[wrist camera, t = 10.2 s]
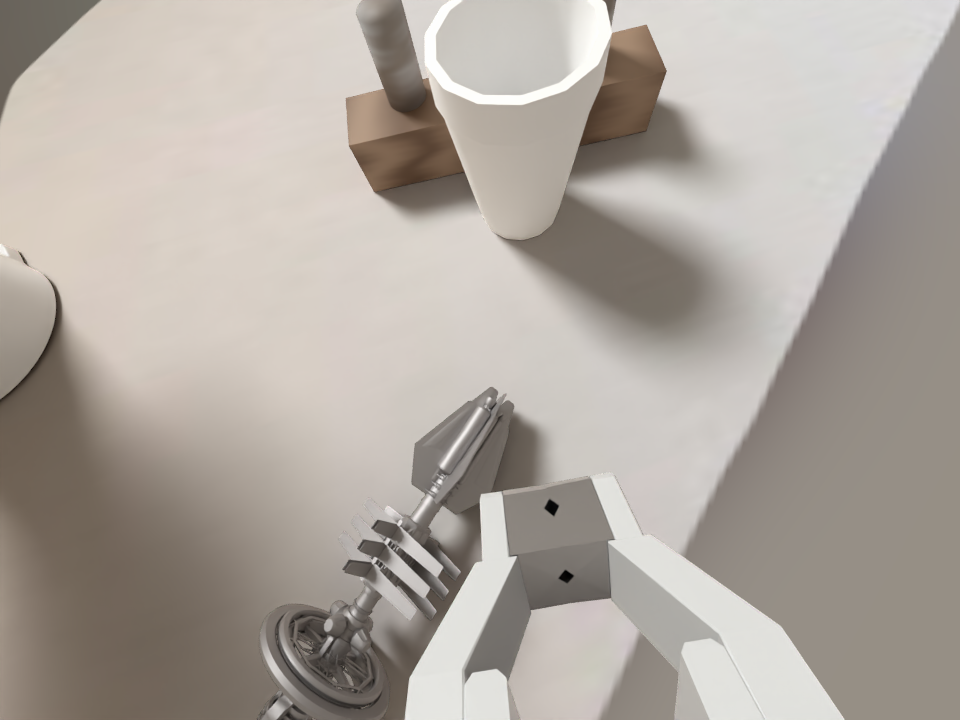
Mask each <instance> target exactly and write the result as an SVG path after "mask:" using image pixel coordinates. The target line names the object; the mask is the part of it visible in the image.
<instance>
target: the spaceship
mask: <svg viewBox="0 0 960 720" xmlns="http://www.w3.org/2000/svg"><path fill="white" fill-rule="evenodd" d="M497 395H498V391H497V390H496V389H494V388H493V387H490V388H488V389H487V390H486V391H485V392H483V393H482V394H481V395H479V396H478V397H477V398H475V399H474V400H473V401H468V402H467V403H465V404H464V405H463V406H462V407H460V408H459V409H458V410H457V411H455V412H454V413H453V414H452V415H450V416H449V417H448V418H447V419H445V420H444V421H443V422H442V423H440V424H439V425H438V426H436V427H435V428H434V429H433V430H431V431H430V432H429V433H428V434H426V435H425V436H424V437H423V438H421V439H420V440H419V441H418V442H416V443H415V448H414V459H413V470H412V481H411V482H412V485H414V486H415V487H416V488H418V489H419V490H421V491H422V492H424V493H425V496H424V497H423V499H421V502H420V504H419V505H418V507H417V508H416V510H415V511H414V512H413V513H412V515H411V516H408V515H405V516H404V517H403V516H401V515H400V514H399V513H398V512H396V511H395V510H394V509H392V508H391V507H390V506H387V507H386V509H385V510H384V511H383V510H382V509H381V508H380V507H379V506H378V505H377V504H376V503H375V502H374V501H373V500H372V499H370V498H369V497H368V498H367V500H366V501H365V502H364V504H363V506H364V508H365V509H366V510H367V511H368V513H369V514H370V515H371V516H372V518H373V519H374V520H375V521H376V522H375V523H374V525H373V526H372V527H371V528H370V526H369V525H368V524H367V523H366V522H365V521H364V520H363V519H362V518H361V517H360V516H359V515H358V514H356V515H355V516H354V518H353V519H352V520H351V523H352V524H353V526H354V527H355V529H356V530H357V532H358V533H359V534H360V536H361V537H362V539H363V540H362V542H361V543H360V545H359V546H358V545H357V544H356V543H355V542H354V541H353V539H352V538H351V537H350V536H349V535H348V534H347V532H346V531H344V532H343V533H342V534H341V536H340V537H339V541H340V543H341V544H342V546H343V547H344V549H345V551H346V552H347V554H348V555H349V557H350V558H351V560H348V562H347V563H346V565H345V566H344V567H343V570H345V573H348V574H352V575H356V576H359V577H360V580H361V581H363V582H364V584H365V587H364V589H363V591H362V592H361V594H360V595H359V597H358V598H356V599H355V600H354V602H353V605H347V604H346V603H344V602H343V601H336V602H334V603H333V604H332V606H331V609H330V613H329V612H327V611H324V610H321V609H318V608H315V607H312V606H308V605H303V604H288V605H284V606H281V607H279V608H277V609H275V610H274V611H272V612H271V613H269V614H268V615H267V617H266V618H265V619H264V621H263V623H262V627H261V630H260V635H259V648H260V653H261V657H262V660H263V663H264V665H265V667H266V669H267V671H268V673H269V675H270V677H271V678H272V680H273V681H274V683H275V684H276V685H277V687H278V688H279V689H280V690H279V691H278V692H277V693H276V694H275V696H273V697H272V699H270V700H269V701H268V702H267V703H266V704H265V706H264V709H263V710H262V711H261V712H260V714H259V717H258V718H257V720H258V719H259V718H260V719H259V720H312V718H314V719H316V720H381V719H382V718H383V716H384V715H385V713H386V711H387V708H388V705H389V699H390V686H389V681H388V677H387V675H386V672H385V670H384V667H383V665H382V664H381V662H380V660H379V658H378V657H377V655H376V654H375V652H374V650H373V649H372V648H371V637H370V634H369V632H370V631H371V630H372V627H373V621H372V619H371V618H370V617H368V615H370V614H371V613H372V609H373V607H374V606H375V604H376V603H377V601H378V600H379V599H381V597H382V596H383V597H384V598H385V599H386V600H388V601H389V602H390V603H391V604H392V605H393V606H394V607H395V608H396V609H397V610H398V611H399V612H401V613H402V614H403V615H404V616H405V617H406V618H407V619H408V620H410V621H411V619H412V617H413V616H414V614H415V613H416V611H417V610H416V608H415V607H414V606H413V605H412V604H411V603H410V602H409V601H408V600H407V599H406V598H405V597H404V596H403V594H402V593H401V592H400V591H399V590H398V589H397V588H396V587H397V585H399V586H400V587H401V588H402V590H403V591H404V592H405V593H406V594H407V595H408V596H409V598H410V599H411V600H412V601H413V602H414V603H415V604H416V606H417V607H418V608H419V609H420V610H421V611H422V612H423V614H424V615H425V616H426V617H427V618H428V619H429V620H430V621H431V620H432V619H433V617H434V615H435V614H436V612H437V611H436V609H435V608H434V607H433V605H432V604H431V603H430V601H429V600H428V599H427V598H426V595H427V593H428V592H429V590H430V588H431V589H432V590H433V591H434V592H435V593H436V594H437V595H438V597H439V598H440V599H441V600H444V599H445V597H446V596H447V594H448V592H449V591H448V589H447V588H446V587H445V586H444V584H443V583H442V582H441V581H440V580H439V578H438V576H439V574H440V572H441V571H442V570H443V571H444V572H446V573H447V574H448V575H449V576H450V577H451V578H452V579H453V580H454V581H456V579H457V577H458V576H459V574H460V570H459V569H458V568H457V567H456V566H455V565H454V564H453V562H452V561H451V560H450V559H449V558H448V557H447V556H446V555H445V554H444V553H443V552H442V551H441V550H440V549H439V547H438V545H439V543H438V542H437V541H436V540H434V539H432V538H430V537H429V535H430V533H431V530H430V529H429V528H428V526H429V525H430V523H431V521H432V520H433V518H434V517H435V515H436V513H437V512H439V510H440V508H441V507H442V505H443V506H444V507H446V508H447V509H449V510H450V511H452V512H453V513H454V514H459V513H461V512H463V511H465V510H466V509H468V508H470V507H472V506H474V505H476V504H478V503H480V497H481V494H486V493H491V492H492V489H493V485H494V482H495V478H496V475H497V472H498V468H499V465H500V462H501V458H502V455H503V451H504V448H505V445H506V441H507V438H508V435H509V430H508V427H509V423H510V420H511V416H512V413H513V409H514V404H513V403H511V402H510V401H509V400H508V401H505V402H504V403H503V404H502V402H503V400H504V398H505V396H506V394H504V395H503V396H502V397H500V398H499V399H498V400H497V401H496V398H497ZM501 404H502V405H501ZM365 554H368V555H370V556H371V557H369V558H368V557H367V556H366V555H365ZM277 629H278V630H277ZM276 635H277V638H276ZM277 640H278V644H277ZM297 640H301V641H303V642H304V643H306V644H308V645H309V646H311V647H313V649H312V650H310V649H306V648H303V647H301V645H300V644H299V643H298V642H297ZM306 641H310V643H311V642H313V644H314V645H313V644H312V643H311V644H310V643H308V642H306ZM295 646H296V648H297V649H298V651H299V653H300V654H301V656H302V658H300V657H299V655H298V654H297V652H296V650H295ZM301 649H302V650H304V651H305V652H307V653H309V654H310V655H308V656H305V655H304V653H303V651H302V650H301ZM308 650H309V651H313V653H311V652H309V651H308ZM341 665H342V666H341ZM343 666H344V668H343ZM345 667H346V669H347V671H348V672H347V671H346V670H345ZM343 671H344V672H346V673H347V674H348V675H350V676H351V678H352V681H353V684H354V686H351V685H349V682H348V680H347V678H346V676H345V674H344V672H343ZM333 676H334V677H335V679H336V680H337V682H338V683H335V682H334V681H332V680H331V679H332V678H333ZM329 683H330V684H329ZM338 687H341V688H342V690H341V689H338ZM351 689H353V690H354V691H351ZM369 704H370V705H369ZM367 705H369V706H367ZM365 706H367V707H365ZM361 707H365V708H364V709H361Z"/></svg>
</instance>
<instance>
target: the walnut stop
mask: <svg viewBox="0 0 960 720" xmlns="http://www.w3.org/2000/svg"><path fill="white" fill-rule="evenodd" d="M603 1H604V2H605V3H606V6H607V11H608V16H609V20H610V25H612V20H613V14H614V9H615V4H616V0H603ZM356 15H357V18H358V21H359V23H360V26H361V29H362V31H363V34H364V37H365V39H366V42H367V45H368V47H369V50H370V53H371V55H372V58H373V61H374V63H375V66H376V69H377V71H378V74H379V77H380V79H381V82H382V85H383V87H384V89H381V90H377V91H373V92H369V93H365V94H361V95H357V96H353V97H349V98H346V109H347V124H348V139H349V147H350V149H351V150H352V152H353V154H354V156H355V158H356V160H357V161H358V163H359V165H360V167H361V169H362V171H363V172H364V174H365V176H366V178H367V180H368V182H369V183H370V185H371V187H372V189H373V191H374V192H377V191H381V190H386V189H390V188H395V187H399V186H403V185H408V184H412V183H417V182H421V181H426V180H430V179H435V178H439V177H443V176H448V175H452V174H457V173H461V172H465V171H464V168H463V166H462V163H461V161H460V158H459V156H458V153H457V150H456V148H455V145H454V143H453V140H452V138H451V135H450V132H449V130H448V127H447V125H446V122H445V120H444V118H443V116H442V115H441V113H440V112H439V111H438V109H437V108H436V106H435V102H434V98H433V94H432V90H431V86H430V82H429V78H426V79H422V76H421V72H420V68H419V64H418V61H417V57H416V53H415V49H414V46H413V42H412V38H411V35H410V31H409V27H408V23H407V20H406V16H405V12H404V8H403V5H402V1H401V0H362V1H361V2H360V3H359V5H358V7H357V9H356ZM665 74H666V68H665V66H664V64H663V61H662V59H661V57H660V54H659V52H658V50H657V48H656V45H655V43H654V41H653V38H652V36H651V34H650V32H649V29H648V27H647V25H643V26H639V27H635V28H631V29H627V30H623V31H619V32H615V33H612V37H611V42H610V47H609V52H608V58H607V63H606V68H605V73H604V79H603V82H602V85H601V87H600V89H599V92H598V94H597V96H596V99H595V101H594V103H593V106H592V108H591V110H590V112H589V115H588V119H587V122H586V125H585V128H584V131H583V134H582V138H581V141H580V144H579V146H581V145H586V144H590V143H594V142H599V141H603V140H608V139H612V138H617V137H621V136H625V135H630V134H634V133H639V132H643V131H646V130H647V127H648V124H649V121H650V118H651V115H652V112H653V109H654V106H655V104H656V101H657V98H658V95H659V92H660V89H661V86H662V83H663V80H664V77H665Z"/></svg>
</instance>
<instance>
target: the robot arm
mask: <svg viewBox="0 0 960 720" xmlns="http://www.w3.org/2000/svg"><path fill="white" fill-rule="evenodd" d="M55 315H56V299H55V294H54V290H53V288H52V285H51V284H50V282H49V280H48V279H47V278H46V277H45V276H44V275H43V274H42V273H40V272H39V271H37V270H35V269H33V268H31V267H29V266H27V265H26V264H25V263H24V262H23V260H22V258H21V256H20V254H19V252H18V251H17V250H16V249H14V248H12V247H9V246H6V245H3V244H0V399H1V398H2V397H4V396H5V395H6V394H7V393H9V392H10V391H11V390H12V389H13V388H14V387H15V386H16V385H17V384H19V383H20V381H21V380H22V379H23V378H24V377H25V376H26V375H27V374H28V373H29V371H30V370H31V369H32V367H33V366H34V365H35V363H36V362H37V360H38V359H39V357H40V356H41V354H42V352H43V350H44V348H45V346H46V344H47V342H48V340H49V338H50V335H51V332H52V329H53V325H54V321H55ZM480 518H481V541H482V561H481V562H476V563H475V564H474V566H473V568H472V570H471V571H470V573H469V575H468V577H467V578H466V580H465V582H464V584H463V585H462V587H461V589H460V591H459V592H458V594H457V596H456V598H455V599H454V601H453V603H452V605H451V606H450V608H449V610H448V612H447V613H446V615H445V617H444V619H443V620H442V622H441V624H440V626H439V627H438V629H437V631H436V633H435V634H434V636H433V638H432V640H431V641H430V643H429V645H428V647H427V648H426V650H425V652H424V654H423V655H422V657H421V659H420V661H419V662H418V664H417V666H416V668H415V669H414V671H413V673H412V675H411V676H410V678H409V685H408V694H407V703H406V712H405V720H520V717H519V714H518V711H517V708H516V705H515V702H514V699H513V696H512V693H511V690H510V687H509V684H508V680H509V677H510V674H511V671H512V668H513V665H514V662H515V659H516V656H517V653H518V650H519V647H520V644H521V642H522V639H523V636H524V633H525V630H526V627H527V624H528V621H529V618H530V615H531V611H530V610H535V609H541V608H546V607H552V606H557V605H562V604H568V603H575V602H583V601H592V600H600V599H608V598H611V600H612V601H613V603H614V604H615V605H616V606H617V607H618V608H619V609H620V610H621V611H622V612H623V613H624V614H625V615H626V616H627V618H628V619H629V620H630V621H631V622H632V623H633V624H634V625H635V626H636V627H637V628H638V629H639V630H640V632H641V633H642V634H643V635H644V636H645V637H646V638H647V639H648V640H649V641H650V642H651V643H652V644H653V645H654V646H655V647H656V649H657V650H658V651H659V652H660V653H661V654H662V655H663V656H664V657H665V658H666V659H667V660H668V662H670V664H671V665H672V666H673V667H674V668H675V669H676V670H677V671H678V672H679V678H678V688H677V698H676V708H675V717H674V720H845V719H844V718H843V717H842V715H841V714H840V712H839V711H838V709H837V708H836V706H835V705H834V703H833V702H832V701H831V699H830V697H829V696H828V695H827V693H826V692H825V690H824V689H823V687H822V686H821V684H820V683H819V681H818V680H817V679H816V677H815V676H814V674H813V673H812V671H811V670H810V668H809V667H808V665H807V664H806V662H805V661H804V659H803V658H802V656H801V655H800V654H799V652H798V651H797V649H796V648H795V646H794V645H793V644H792V642H791V640H790V639H789V637H788V636H787V634H786V633H785V632H784V630H783V629H782V627H781V626H780V625H778V624H777V623H775V622H774V621H773V620H771V619H770V618H768V617H767V616H766V615H764V614H763V613H761V612H760V611H759V610H757V609H756V608H754V607H753V606H752V605H750V604H749V603H747V602H746V601H745V600H743V599H742V598H740V597H739V596H737V595H736V594H735V593H733V592H732V591H730V590H729V589H728V588H726V587H725V586H723V585H722V584H720V583H719V582H718V581H716V580H715V579H714V578H712V577H711V576H709V575H708V574H706V573H705V572H704V571H702V570H701V569H699V568H698V567H697V566H695V565H694V564H692V563H691V562H690V561H688V560H687V559H685V558H684V557H683V556H681V555H680V554H678V553H677V552H676V551H674V550H673V549H671V548H670V547H668V546H667V545H666V544H664V543H663V542H661V541H660V540H659V539H657V538H656V537H654V536H653V535H652V534H650V535H643V533H642V530H641V528H640V526H639V524H638V522H637V520H636V518H635V516H634V514H633V512H632V510H631V508H630V506H629V504H628V502H627V500H626V497H625V495H624V493H623V491H622V489H621V487H620V485H619V483H618V481H617V479H616V477H615V475H614V474H613V473H612V472H609V473H603V474H597V475H592V476H589V477H588V476H585V477H580V478H575V479H569V480H564V481H558V482H553V483H547V484H545V485H538V486H531V487H524V488H517V489H510V490H504V491H499V492H492V493H486V494H481V497H480Z"/></svg>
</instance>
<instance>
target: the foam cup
mask: <svg viewBox="0 0 960 720" xmlns="http://www.w3.org/2000/svg"><path fill="white" fill-rule="evenodd" d="M611 37H612V29H611V25H610V20H609V16H608V11H607V6H606V3H605V2H604V1H603V0H450V1H449V2H447V3H446V4H445V5H443V6H442V7H441V8H440V10H439V12H438V13H437V15H436V17H435V18H434V20H433V22H432V23H431V25H430V27H429V28H428V30H427V32H426V33H425V66H426V70H427V74H428V78H429V82H430V86H431V90H432V94H433V98H434V102H435V106H436V108H437V109H438V111H439V112H440V113H441V115H442V116H443V118H444V120H445V122H446V125H447V127H448V130H449V132H450V135H451V138H452V140H453V143H454V145H455V148H456V150H457V153H458V156H459V158H460V161H461V163H462V166H463V168H464V171H465V174H466V176H467V179H468V181H469V184H470V186H471V189H472V191H473V194H474V197H475V199H476V202H477V204H478V207H479V209H480V212H481V214H482V216H483V219H484V221H485V222H486V224H487V225H488V226H489V228H490V229H491V231H492V232H494V233H496V234H498V235H500V236H501V237H503V238H505V239H514V240H525V239H529V238H532V237H535V236H538V235H540V234H542V233H543V232H544V231H545V230H546V229H547V228H549V227H550V226H551V225H552V224H553V222H554V220H555V217H556V215H557V213H558V210H559V207H560V205H561V201H562V198H563V195H564V192H565V189H566V185H567V182H568V179H569V176H570V173H571V170H572V166H573V163H574V160H575V157H576V154H577V150H578V147H579V144H580V141H581V138H582V134H583V131H584V128H585V125H586V122H587V119H588V115H589V112H590V110H591V108H592V106H593V103H594V101H595V99H596V96H597V94H598V92H599V89H600V87H601V85H602V82H603V79H604V73H605V68H606V63H607V58H608V52H609V47H610V42H611Z"/></svg>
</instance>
